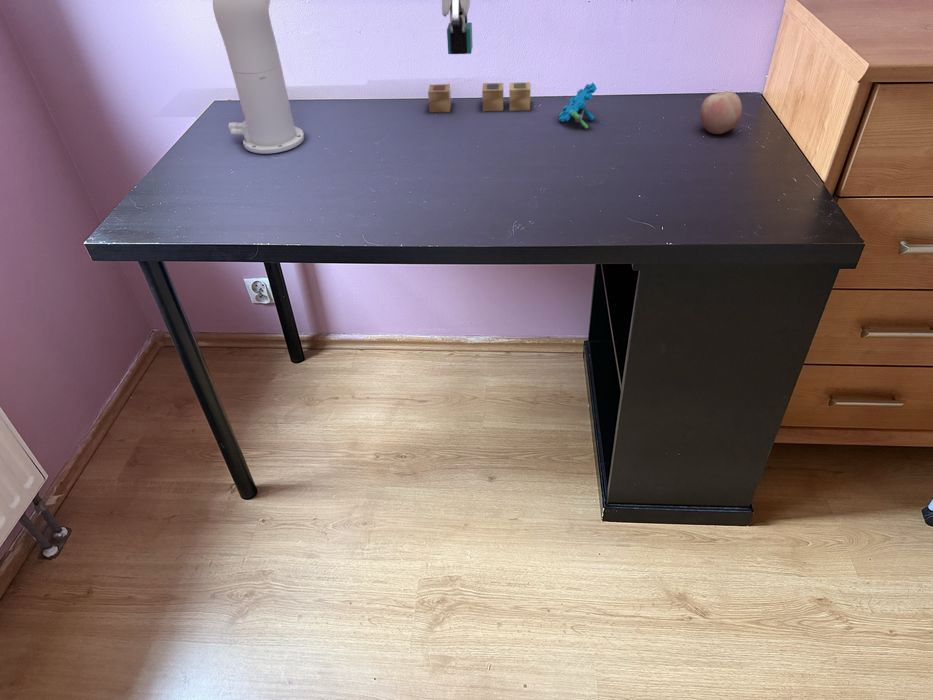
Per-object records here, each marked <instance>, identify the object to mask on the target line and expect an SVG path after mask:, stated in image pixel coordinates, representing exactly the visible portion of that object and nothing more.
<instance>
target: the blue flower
mask: <svg viewBox="0 0 933 700" xmlns="http://www.w3.org/2000/svg"><path fill="white" fill-rule="evenodd" d="M597 89H598V88H597V85H596V84H595V83H594V82H591V83H590V84H589V83H587V84H586V85H585V86H584V88H580V89H579V90H577V92H576V95H575V96H572V97H571V98H569V100H568V102H569V104H565V105H564V106H563V107H562V110H561V112H560V113H559V114H558V120H559V122H561V123H564V122H568V121H569V120H570V119H571V118H574V122H575V123H579V124H580V125H581V126H582V127H583V128H584V129H585V130H587V129H588V128H589V126H588V124H587V123H586V122H585V121H584V119H583V117H584V115H585V116H586V118H587V119H588V120H589V121H591V122H592V121H593V120H594V119H595V116H594V115H593V114H592V113H591V112H590V111H589V110H588V109H587V107H586V106H587V104H586V101H590V100H591V99H592V98H593V97H594V93H595V92H596V91H597Z"/></svg>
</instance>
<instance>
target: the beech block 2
mask: <svg viewBox="0 0 933 700" xmlns="http://www.w3.org/2000/svg"><path fill="white" fill-rule="evenodd" d="M481 101H482V112H503V111H504V82H489V83H488V82H487V83H486V82H485V83H482V90H481Z"/></svg>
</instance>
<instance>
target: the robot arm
mask: <svg viewBox="0 0 933 700" xmlns="http://www.w3.org/2000/svg"><path fill="white" fill-rule="evenodd" d="M270 4H271V0H212V9H213V13H214V14H213V15H214V18H215V22H216V24H217V25H216V26H217V27H218V29H219V32H220V35H221V38H222V42H223V45H224V47H225V51H226V55H227V58H228V62H229V66H230V70H231V72H232V76H233V80H234V84H235V88H236V91H237V95H238V98H239V102H240V107H241V110H242V114H243V118H244V120H243V121H242V122H238V121H235V122H233V121H232V122H231V121H230V122H228V124H227V125H228V126H227V127H228V129H229V132H230V135H231V136H242V137H244V138H243V139H242V143H243V147H244V148H245V150H247V151H249V152H251V153H254V154H259V155H260V154H261V155H269V154H270V155H271V154H277V153H283V152H287V151H290V150H292V149H295V148H296V147H298V146H300V145H301V144H302V143H303V142H304V140H305V133H304V131H303V129H302V128H300V127H298V126H295V123H294V119H293V113H292V108H291V104H290V100H289V95H288V90H287V86H286V81H285V75H284V72H283V66H282V61H281V60H280V54H279V49H278V44H277V41H276V36H275V34H274V29H273V25H272V21H271V16H270V10H269V9H270ZM470 7H471V0H441V15H442V16H443V17H447V15H449V19H450V20H449V23H450V28H451V32H450V43H451V53H452V54H451V55H467V54H466V53H467V33H466V32H465V23H468V13H469V9H470Z"/></svg>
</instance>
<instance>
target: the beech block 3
mask: <svg viewBox="0 0 933 700" xmlns="http://www.w3.org/2000/svg"><path fill="white" fill-rule="evenodd" d="M508 98H509V100H508V101H509V102H508V103H509V107H508V108H509V109H508V110H509V111H510V112H513V111H516V112H517V111H520V112H521V111H531V82H529V81H528V82H527V81H526V82H509V97H508Z"/></svg>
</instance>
